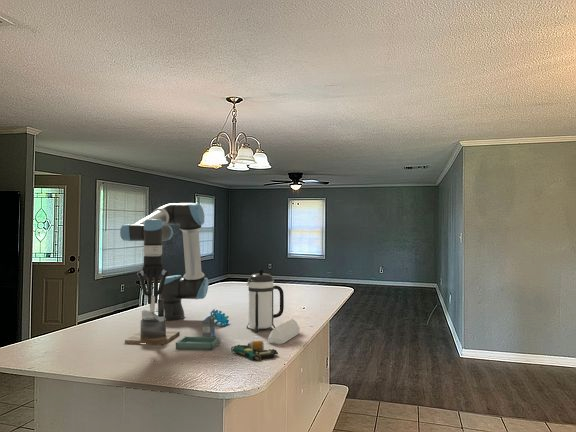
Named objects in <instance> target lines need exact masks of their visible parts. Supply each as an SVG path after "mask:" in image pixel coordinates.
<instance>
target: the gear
mask: <svg viewBox="0 0 576 432" xmlns="http://www.w3.org/2000/svg"><path fill="white" fill-rule="evenodd" d="M229 316H230V315H226V313H225V312H223V311H222V310H217V309H215V312H214V326H215V325H217V324H219V326H221V327H222V326H224V327H226V326H228V325H229V321H230V320H229Z"/></svg>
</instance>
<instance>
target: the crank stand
mask: <svg viewBox="0 0 576 432" xmlns="http://www.w3.org/2000/svg"><path fill="white" fill-rule="evenodd" d="M179 335H181V332H180V330H175V331H174V330H167V320H166V319H164V321H161V322H159V321H155V322H145V321H142V319H140V331H139V332H137V333H135V334H133V335H131V336H130V337H128V338H126V339H124V344H125V343H146V344H145V345H154V344H165V345H166V344H168V343H169V342H171V341H173V340H174V339H175V338H177V337H178V336H179ZM170 340H171V341H170ZM167 342H168V343H167Z"/></svg>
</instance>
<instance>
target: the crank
mask: <svg viewBox="0 0 576 432" xmlns="http://www.w3.org/2000/svg"><path fill="white" fill-rule="evenodd" d="M164 319H165V309H164V299H160V298H159V299H158V298H157V308H156V307H155V312H150V308H146V309H142V310H141V320H142V321H145V322H155V321H159V322H161V321H164Z"/></svg>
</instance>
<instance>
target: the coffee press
mask: <svg viewBox="0 0 576 432" xmlns="http://www.w3.org/2000/svg"><path fill="white" fill-rule="evenodd" d="M258 272H259V273H253V274H251V275H250V276H249V277H248V280H247V283H246V286H247V288H248V323H247V325H246V329H248V330H249V329H250V328H253V329H254V333H259V330H262V329H268V328H269V329H271V331H272V330H273V329H274V328H276V326H275V325H274V319H276V318H277V319H278V318H280V317H281V316H282V315H283V312H284V308H285V303H284V301H285V299H284V290H283V288H282V287H281V286H279V285H274V282H275V278H274V277H273V275H272V274H269V273H264V269H263V268H259V269H258ZM274 290H278V292H279V311H278V312H277V313H274Z"/></svg>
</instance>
